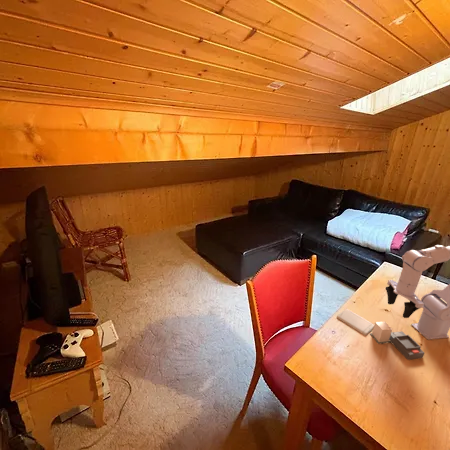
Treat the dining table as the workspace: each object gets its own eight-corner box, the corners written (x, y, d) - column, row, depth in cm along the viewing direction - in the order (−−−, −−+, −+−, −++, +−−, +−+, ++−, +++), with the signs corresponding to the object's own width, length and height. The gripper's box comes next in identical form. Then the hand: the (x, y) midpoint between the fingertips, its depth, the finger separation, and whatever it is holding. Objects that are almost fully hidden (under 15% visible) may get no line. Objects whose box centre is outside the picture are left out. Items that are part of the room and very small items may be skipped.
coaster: (381, 332, 97) (381, 332, 97) (390, 342, 93) (390, 341, 93) (370, 334, 97) (370, 333, 97) (378, 343, 92) (378, 342, 92)
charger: (381, 333, 97) (384, 321, 94) (388, 341, 93) (392, 329, 91) (371, 333, 96) (375, 322, 94) (378, 342, 93) (382, 330, 90)
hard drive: (336, 315, 105) (366, 333, 96) (346, 308, 109) (375, 324, 100) (336, 318, 106) (365, 336, 96) (346, 310, 110) (374, 327, 101)
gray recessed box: (400, 336, 96) (402, 329, 94) (422, 357, 86) (425, 350, 85) (386, 337, 95) (389, 330, 94) (407, 359, 86) (410, 352, 85)
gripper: (384, 271, 96) (375, 298, 101) (415, 294, 83) (403, 324, 87) (400, 270, 97) (391, 297, 102) (433, 292, 83) (420, 323, 88)
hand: (397, 310), depth 95 cm, fingers open, 7 cm apart
